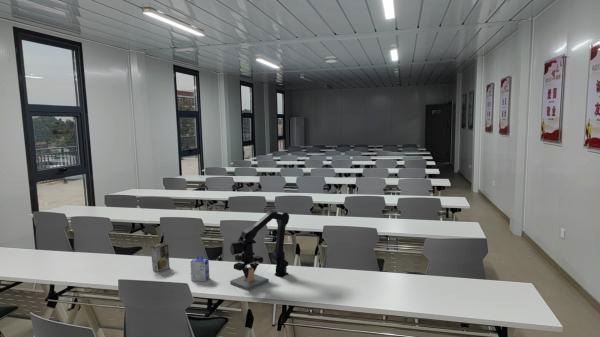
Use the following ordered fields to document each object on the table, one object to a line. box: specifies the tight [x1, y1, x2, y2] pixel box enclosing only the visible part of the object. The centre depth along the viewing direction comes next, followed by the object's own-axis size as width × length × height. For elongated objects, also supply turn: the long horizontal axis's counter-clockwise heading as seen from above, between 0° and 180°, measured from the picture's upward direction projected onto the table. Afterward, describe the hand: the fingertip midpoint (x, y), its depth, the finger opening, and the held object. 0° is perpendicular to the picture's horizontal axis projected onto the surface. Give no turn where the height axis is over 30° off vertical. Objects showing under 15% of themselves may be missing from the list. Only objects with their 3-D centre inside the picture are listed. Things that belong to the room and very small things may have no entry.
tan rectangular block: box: [243, 266, 255, 282], centre depth 231 cm, size 4×4×8 cm
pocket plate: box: [229, 273, 270, 292], centre depth 232 cm, size 16×16×2 cm
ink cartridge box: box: [189, 255, 210, 282], centre depth 238 cm, size 10×6×14 cm, turn 78°
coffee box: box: [150, 242, 171, 273], centre depth 257 cm, size 9×6×16 cm
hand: (249, 276), depth 231 cm, fingers closed on tan rectangular block, 4 cm apart
